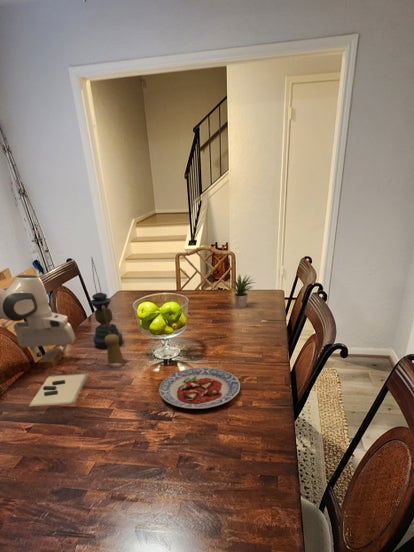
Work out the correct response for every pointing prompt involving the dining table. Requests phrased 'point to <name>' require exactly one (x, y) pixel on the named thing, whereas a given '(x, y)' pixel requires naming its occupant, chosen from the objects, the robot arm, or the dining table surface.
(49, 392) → the mark
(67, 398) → the board
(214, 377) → the ceramic plate
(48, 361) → the eraser
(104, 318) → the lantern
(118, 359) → the cork
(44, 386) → the mark
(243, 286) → the house plant
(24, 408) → the dining table surface
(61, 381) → the mark
